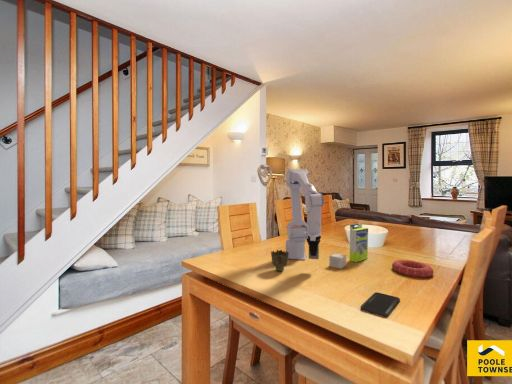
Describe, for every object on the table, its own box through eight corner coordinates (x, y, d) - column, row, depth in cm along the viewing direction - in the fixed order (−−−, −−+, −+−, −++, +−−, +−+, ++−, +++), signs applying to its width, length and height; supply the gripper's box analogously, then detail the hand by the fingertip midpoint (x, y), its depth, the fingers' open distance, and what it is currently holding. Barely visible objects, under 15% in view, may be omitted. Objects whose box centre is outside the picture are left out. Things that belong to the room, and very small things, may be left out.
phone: (400, 298, 89) (387, 315, 78) (400, 301, 89) (387, 319, 78) (375, 291, 95) (359, 307, 83) (375, 295, 95) (359, 310, 83)
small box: (334, 263, 129) (334, 253, 129) (346, 266, 125) (346, 255, 125) (328, 266, 125) (329, 255, 125) (341, 269, 121) (341, 258, 121)
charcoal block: (308, 258, 116) (308, 246, 116) (309, 256, 120) (309, 244, 120) (318, 259, 115) (318, 247, 115) (318, 256, 119) (318, 245, 119)
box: (356, 262, 130) (356, 225, 129) (348, 260, 133) (348, 224, 133) (368, 258, 137) (369, 223, 136) (360, 257, 140) (361, 222, 139)
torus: (384, 268, 123) (384, 260, 123) (410, 265, 127) (410, 257, 127) (413, 280, 108) (413, 271, 108) (442, 277, 112) (442, 268, 111)
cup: (276, 274, 114) (276, 255, 113) (267, 269, 120) (267, 251, 120) (291, 271, 117) (292, 252, 117) (282, 266, 124) (282, 249, 123)
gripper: (305, 219, 125) (305, 249, 126) (302, 224, 111) (302, 258, 112) (322, 220, 123) (321, 250, 124) (320, 225, 109) (320, 259, 110)
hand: (313, 254), depth 118 cm, fingers closed on charcoal block, 4 cm apart
